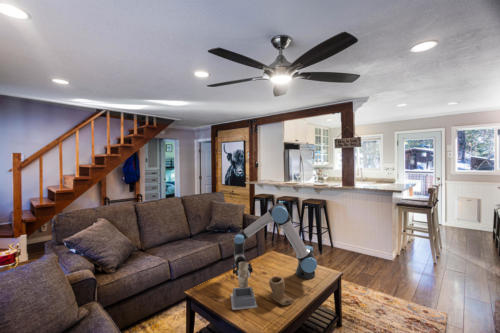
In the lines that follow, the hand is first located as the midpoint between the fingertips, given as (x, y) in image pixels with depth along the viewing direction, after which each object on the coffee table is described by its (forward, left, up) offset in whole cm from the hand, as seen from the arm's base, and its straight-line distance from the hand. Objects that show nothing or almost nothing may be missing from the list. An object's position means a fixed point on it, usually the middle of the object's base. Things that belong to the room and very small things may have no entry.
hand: (244, 276), depth 153 cm
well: (0, -5, -19) cm, 20 cm away
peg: (0, -5, -8) cm, 10 cm away
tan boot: (-24, -2, -19) cm, 31 cm away
